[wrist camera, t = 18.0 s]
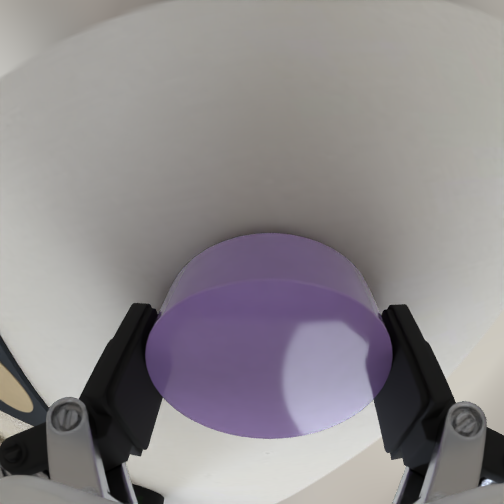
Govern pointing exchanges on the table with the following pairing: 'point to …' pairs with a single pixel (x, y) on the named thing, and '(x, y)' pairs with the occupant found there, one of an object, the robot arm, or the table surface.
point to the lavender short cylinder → (269, 338)
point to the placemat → (18, 392)
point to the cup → (147, 496)
